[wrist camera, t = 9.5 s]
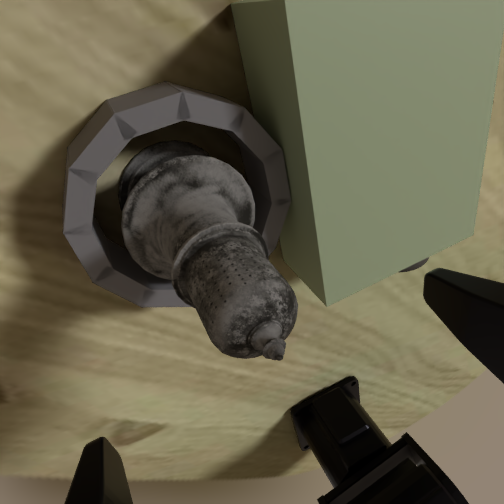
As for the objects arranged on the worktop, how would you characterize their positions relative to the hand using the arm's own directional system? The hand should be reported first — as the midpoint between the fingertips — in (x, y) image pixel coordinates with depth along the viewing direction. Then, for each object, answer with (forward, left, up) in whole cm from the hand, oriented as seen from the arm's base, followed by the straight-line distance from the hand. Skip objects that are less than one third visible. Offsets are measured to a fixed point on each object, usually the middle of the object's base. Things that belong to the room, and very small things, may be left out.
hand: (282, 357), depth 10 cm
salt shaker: (0, 0, -12) cm, 12 cm away
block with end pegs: (0, -5, -12) cm, 13 cm away
